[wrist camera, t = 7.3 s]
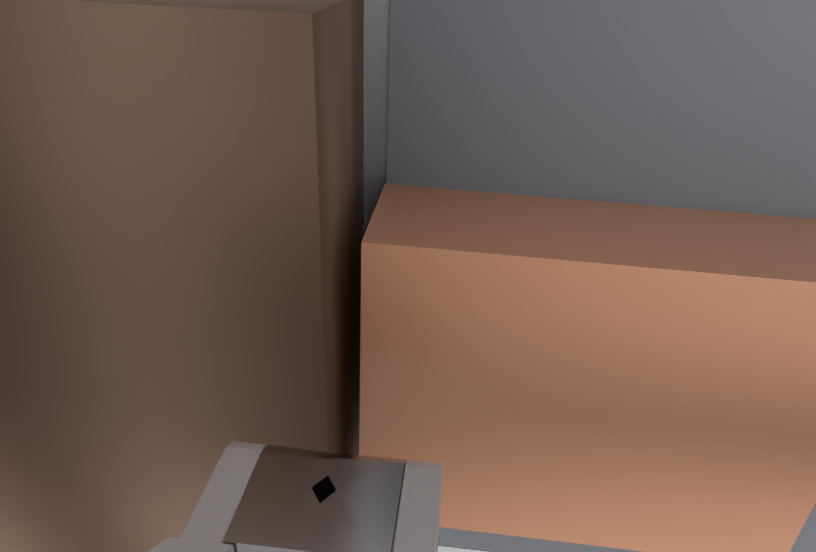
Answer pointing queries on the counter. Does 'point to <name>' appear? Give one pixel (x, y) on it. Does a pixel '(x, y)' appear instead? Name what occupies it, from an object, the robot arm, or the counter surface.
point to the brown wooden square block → (171, 254)
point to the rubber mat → (607, 116)
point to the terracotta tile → (594, 366)
